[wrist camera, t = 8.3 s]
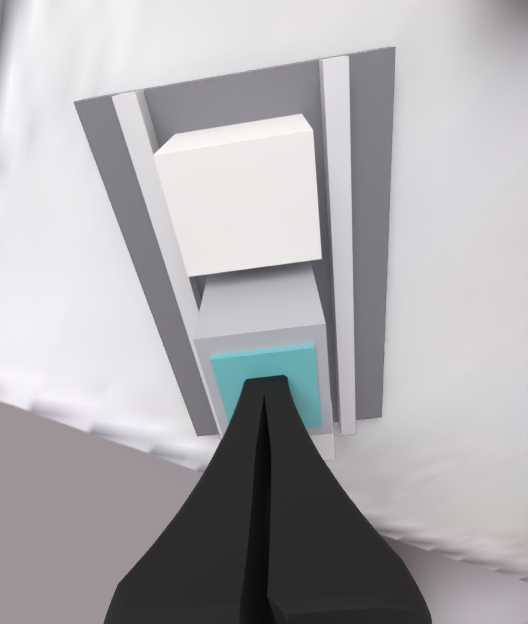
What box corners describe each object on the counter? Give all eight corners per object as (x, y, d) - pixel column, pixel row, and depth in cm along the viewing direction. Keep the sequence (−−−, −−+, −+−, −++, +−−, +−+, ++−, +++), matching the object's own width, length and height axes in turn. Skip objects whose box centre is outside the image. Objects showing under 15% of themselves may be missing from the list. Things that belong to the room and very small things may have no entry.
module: (313, 334, 19) (333, 437, 14) (234, 343, 19) (224, 448, 14) (305, 240, 16) (326, 327, 11) (212, 253, 17) (191, 343, 11)
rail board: (377, 404, 23) (399, 471, 20) (199, 423, 24) (188, 490, 20) (386, 47, 13) (435, 45, 10) (84, 99, 14) (21, 115, 10)
